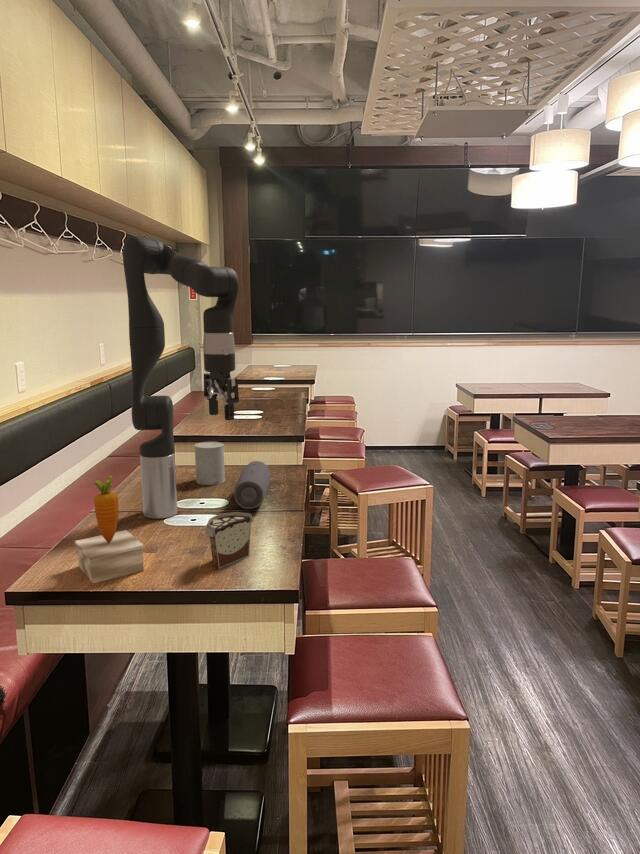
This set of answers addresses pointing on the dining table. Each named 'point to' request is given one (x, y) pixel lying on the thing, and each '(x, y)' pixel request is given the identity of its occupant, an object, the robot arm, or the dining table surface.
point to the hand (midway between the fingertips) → (221, 417)
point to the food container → (229, 537)
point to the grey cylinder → (209, 463)
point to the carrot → (106, 509)
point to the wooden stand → (110, 556)
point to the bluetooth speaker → (252, 485)
